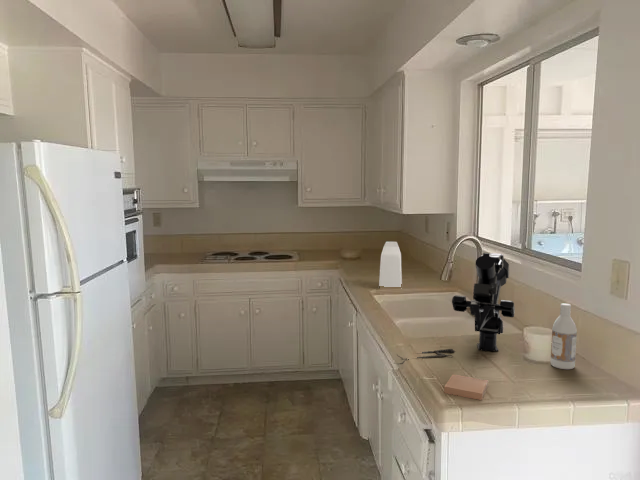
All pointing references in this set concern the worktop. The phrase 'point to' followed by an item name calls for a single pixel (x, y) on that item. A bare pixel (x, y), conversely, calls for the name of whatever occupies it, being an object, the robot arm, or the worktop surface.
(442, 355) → the hacksaw
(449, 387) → the tile
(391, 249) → the milk
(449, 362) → the worktop surface
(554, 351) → the bath foam
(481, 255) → the robot arm
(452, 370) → the worktop surface
